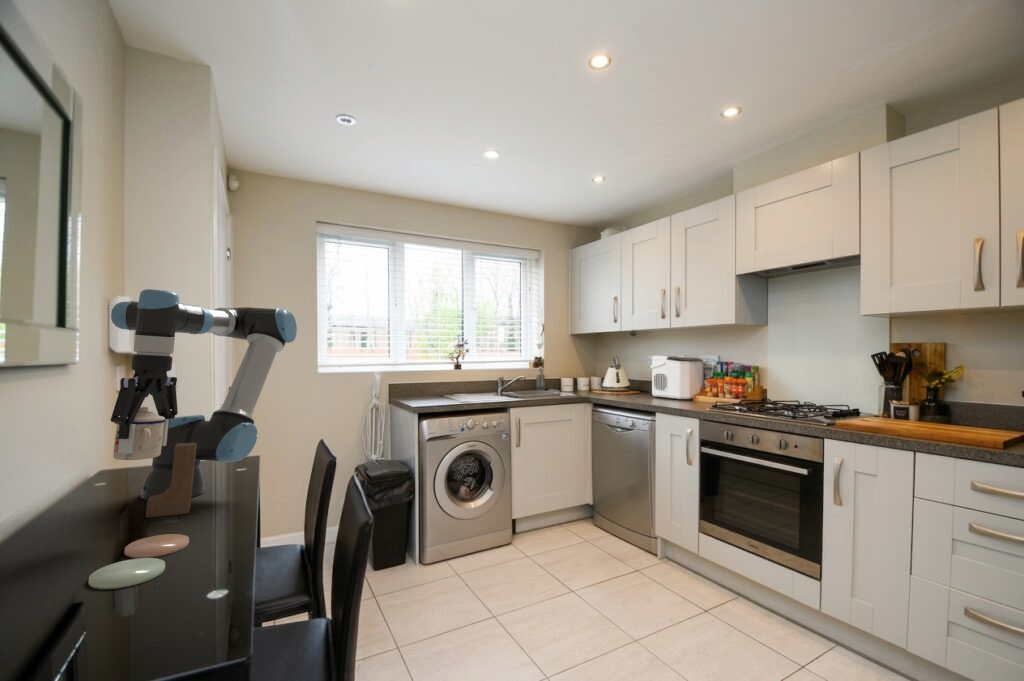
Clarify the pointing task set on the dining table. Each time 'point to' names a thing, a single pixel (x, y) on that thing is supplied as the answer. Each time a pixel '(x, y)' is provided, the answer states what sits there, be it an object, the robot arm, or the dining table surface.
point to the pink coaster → (156, 546)
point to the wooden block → (176, 485)
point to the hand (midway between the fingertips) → (143, 449)
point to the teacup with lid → (143, 436)
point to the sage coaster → (126, 573)
